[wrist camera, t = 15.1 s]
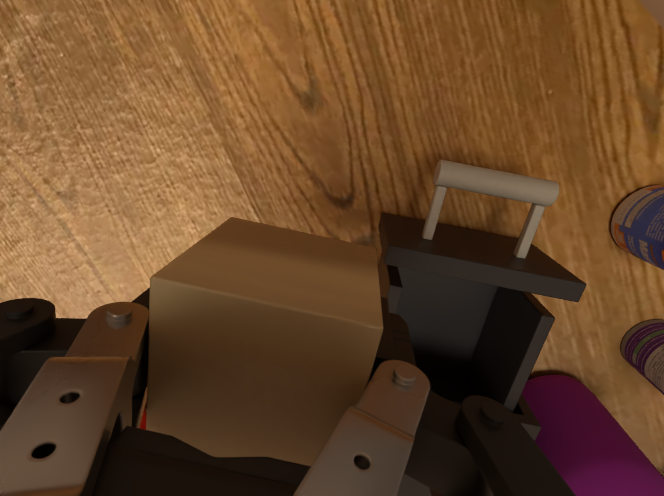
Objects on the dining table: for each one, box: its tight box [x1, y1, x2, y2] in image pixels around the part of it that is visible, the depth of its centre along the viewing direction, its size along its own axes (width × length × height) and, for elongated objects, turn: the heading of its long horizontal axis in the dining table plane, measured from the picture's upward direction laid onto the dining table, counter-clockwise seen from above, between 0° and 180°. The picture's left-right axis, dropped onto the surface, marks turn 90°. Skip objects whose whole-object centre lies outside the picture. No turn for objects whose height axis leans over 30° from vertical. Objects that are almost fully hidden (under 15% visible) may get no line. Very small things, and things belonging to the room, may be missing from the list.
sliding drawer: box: [378, 160, 586, 413], centre depth 26 cm, size 18×11×8 cm, turn 170°
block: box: [146, 217, 383, 466], centre depth 11 cm, size 5×5×5 cm
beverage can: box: [522, 375, 664, 496], centre depth 28 cm, size 8×8×12 cm
